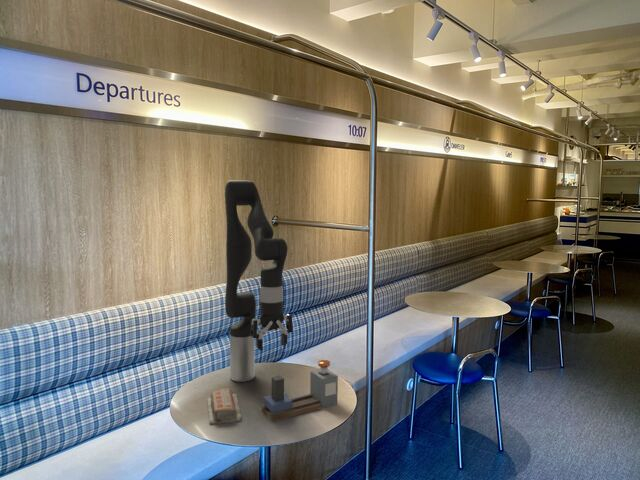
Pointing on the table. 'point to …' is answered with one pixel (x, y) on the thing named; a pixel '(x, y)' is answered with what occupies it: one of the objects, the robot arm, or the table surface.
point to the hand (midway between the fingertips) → (272, 347)
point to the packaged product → (223, 407)
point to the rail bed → (294, 408)
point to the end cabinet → (324, 388)
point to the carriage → (277, 396)
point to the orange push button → (324, 366)
